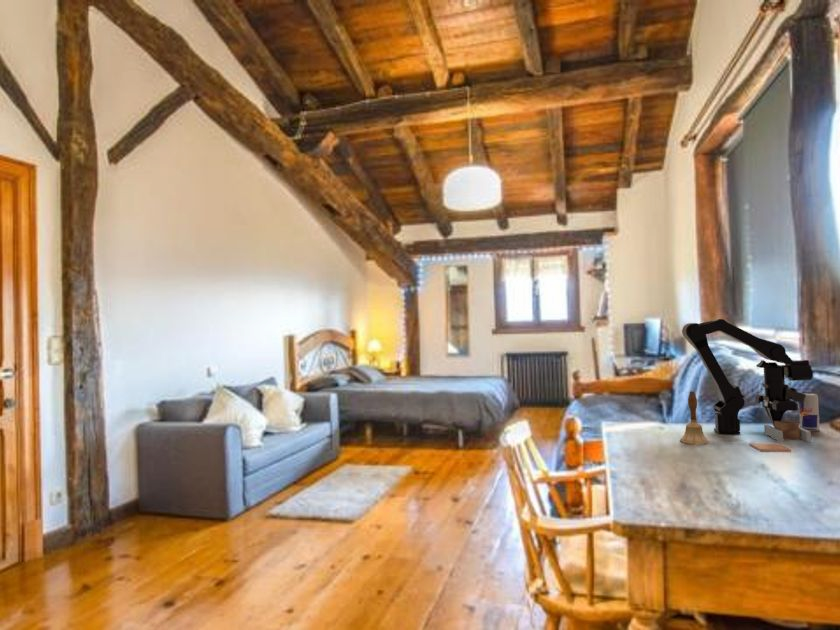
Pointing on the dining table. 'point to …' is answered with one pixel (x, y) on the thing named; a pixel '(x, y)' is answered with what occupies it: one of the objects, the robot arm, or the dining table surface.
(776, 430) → the channel
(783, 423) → the walnut block
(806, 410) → the energy drink
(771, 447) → the coaster
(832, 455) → the dining table surface
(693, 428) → the hand bell
